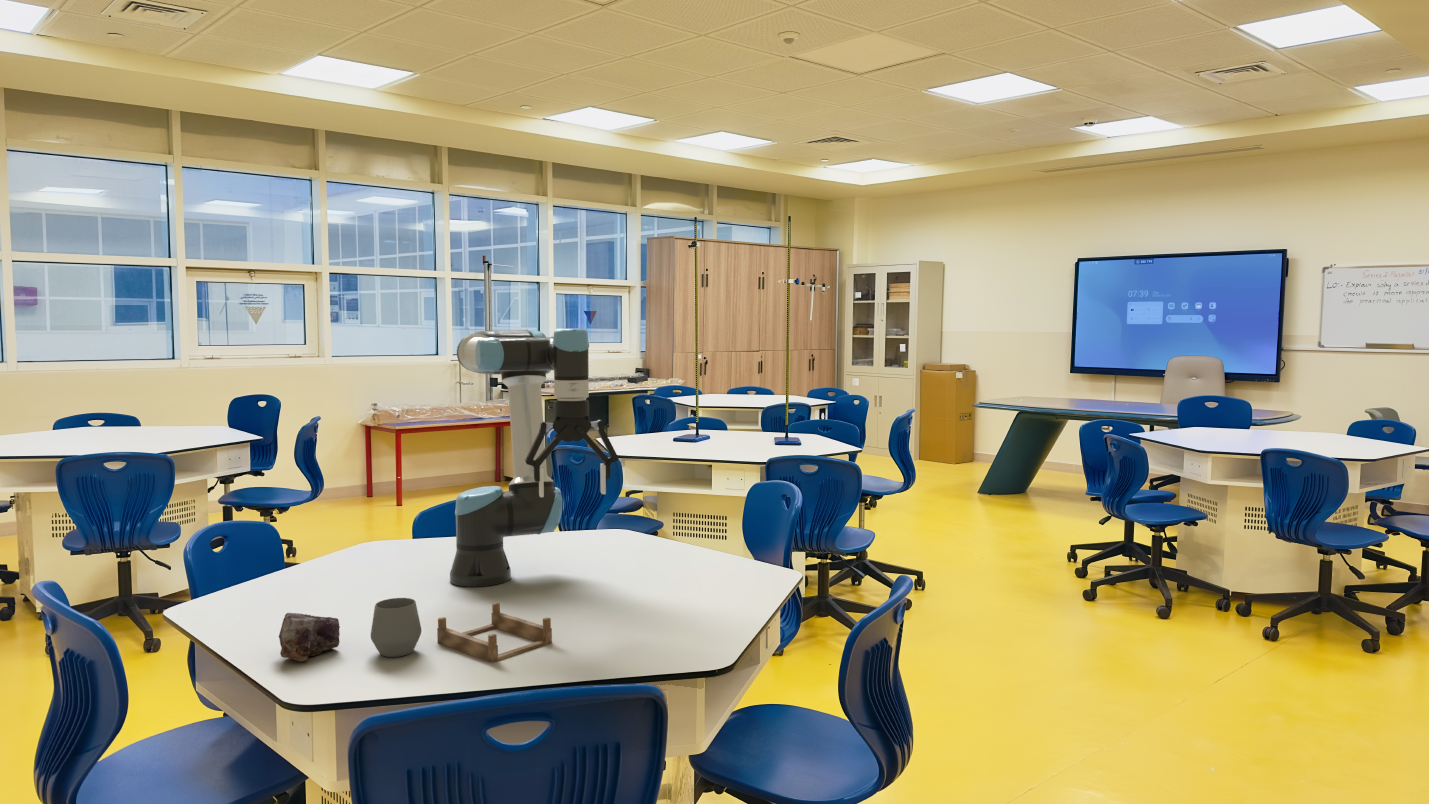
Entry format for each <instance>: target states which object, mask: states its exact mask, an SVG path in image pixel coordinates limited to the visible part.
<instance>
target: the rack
mask: <svg viewBox="0 0 1429 804" xmlns="http://www.w3.org/2000/svg"><path fill="white" fill-rule="evenodd" d="M491 605H492V606H491V607H492V609H491V610H492V611H491V623H490V624H486V625H483V626H480V627H477V628H472V629H470V630H466V631H463V632H460V631H457V630H454V629H451V628H449V627H447V617H446V616H444V617H438V618H437V628H436V629H437V632H436V634H437V638H436V639H437V643H438V644H440V645H442V646H445V647H448V648H452V649H454V650H457V651H460V652H463V653H465V654H467V655H471V656H474V657H476V658H478V659H480V660H481V659H482V660H483V661H486V662H489V663H495V662H498V661H501V660H504V659H507V658H509V657H514V656H516V655H518V654H521V653H526V652H528V651H531V650H533V649H537V648H540V647H543V646H546V645H549V644H552V643H553V632H552V631H553V630H552V622H551V621H552V619H551V617H542V624H538V623H535V622H532V621H530V620H527V619H523V618H519V617H516V616H512V615H509V614H507V613H504V612H503V613H502V612H501V603H500V602H493V603H492V604H491ZM494 629H498V630H500V631H502V632H503V631H504V632H507V633H510V634H512V635H516V636H519V637H523V638H526V639H529V640H532V641H534V642H532V643H528V644H525V645H522V646H519V647H516V648H514V649H510V650H507V651H504V652H500V653H498V652H499V648H498V646H499V645H498V635H497V634H496V633H490V634H488V635H487V640H484V639H480V638H477V637H475V636H473V635H477V634H480V633H485V632H487V631H491V630H494Z"/></svg>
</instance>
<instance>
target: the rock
mask: <svg viewBox="0 0 1429 804" xmlns="http://www.w3.org/2000/svg"><path fill="white" fill-rule="evenodd" d="M340 628H341V627H340V620H339V619H338V617H337V618H336V617H332V616H327V617H326V616H318V615H317V616H316V615H311V614H307V613H305V614H303V613H299V612H298V613H297V612H294V613H293V612H287V613H285V615H284V617H283V619H282V623H281V627H280V630H279V635H278V638H279V644H280V647H281V649H280V653H279V654H280V657H281V658H283V659H284V658H285V659H286V658H287V659H290V660H295V661H297V662H299V663H301V662H302V663H303V662H307V661H308V660H309V656H311V657H313V656H314V657H315V656H318V655H320V654H322V652H326V651H327V652H328V651H329V650H332V649H334V648H338V647H339V645H340V643H341V642H340Z"/></svg>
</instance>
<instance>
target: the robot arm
mask: <svg viewBox="0 0 1429 804" xmlns="http://www.w3.org/2000/svg"><path fill="white" fill-rule="evenodd" d="M589 347H590V343H589V335H588V331H587V330H586V329H585V328H556V329H555V330H554V332H553V336H550V337H547V336H546V335H545V334H544V333H543V332H542V331H540V330H530V329H517V330H515V329H513V330H512V329H511V330H509V329H507V330H505V329H504V330H503V329H502V330H498V329H497V330H490V329H489V330H480V331H477V332H476V331H475V332H473V333H472V332H471V333H469V334H468V335H466V336H464V337H463V338H462V339H461V340H460V342H458V345H457V347H456V348H457V349H456V357H457V360H458V362H459V364H460V365H461V366H462V367H463V368H464V369H465V370H467V371H470V372H473V373H477V374H483V375H500V376H501V383H503V384H504V385H505V386H506V387H507V389H508V406H509V408H508V409H509V422H510V423H509V424H510V433H511V434H510V435H511V436H510V437H511V450H512V451H511V452H512V467H513V470H512V471H513V478H512V480H511V481H510V482H509V483H508V490H507V491H504V490H503V488H502V486H500V485H499V486H498V485H490V486H481V487H476V488H471V489H467V490H465V491H463V492H461V493H459V494H458V495H457V496H456V499H455V511H454V516H455V530H456V531H455V532H456V533H455V537H456V544H455V545H456V549H455V550H456V551H455V554H454V559H453V562H452V565H451V569H450V571H449V582H450V583H451V584H452V585H455V586H460V587H470V588H472V587H473V588H474V587H476V588H477V587H487V586H488V587H489V586H493V585H499V584H503V583H505V582H508V581H510V579H511V578H512V574H511V573H512V569H511V567H510V563H509V561H508V557H507V555H506V552H505V549H504V538H507V537H517V536H518V537H519V536H520V537H521V536H529V535H541V534H546V533H552V532H554V531H555V530H556V529H557V528H558V526H559V525H560V522H561V517H562V512H563V497H562V491H561V489H560V487H556V486H555V485H554V480H553V479H552V478H551V477H549V476H548V471H547V470H548V469H547V458H548V457H549V456H550V455H551V453H553V451H554V450H555V448H556V447H557V446H558V445H559V444H560V443H561V442H562V441H563V442H564V443H565V442H566V443H570V442H572V441H573V442H582V440H584V442H585V443H586V444H588V446H589V447H590V448H591V449H592V450H593V452H595V454H596V455H597V456H598V457H599V458H600V459H601V461H602V462H603V463H600V464H599V465H600V466H599V468H600V469H599V471H600V473H599V474H600V477H599V478H600V493H601V495H606V494H607V485H606V484H607V481H606V479H607V480H608V479H610V478H611V465H612V464H613V463H616V462H618V461H619V456H618V454H617V452H616V449H615V448H614V446H613V445H612V442H611V440H610V439H609V437H608V435H607V432H606V431H605V425H604V421H603V420H601V419H597V420H595V421H594V420H593V421H591V420H590V401H589V400H588V399H587V398H589V397H590V395H589V392H590V391H589V387H590V386H589V385H590V383H589ZM552 371H553V376H554V377H553V385H554V386H553V389H554V390H553V393H554V394H553V396H554V398H556V400H554V402H553V404H554V405H553V406H554V407H553V408H554V417H553V418H554V420H553V422H545V420H544V411H543V400H542V399H543V398H542V397H543V395H542V384H544V383H545V382H546V381H547V375H548V374H550V373H551V372H552ZM591 428H593V429H594V430H595V431H597V432H598V433H597V434H598V436H600V439H601V441H602V443H603V444H604V446H605V448H606V450H607V453H608V454H609V456H607V455H606V454H605V453H604V452H603V450H602V449H600V447H599V446H598V445H597V444H596V442H595V441H594V440H593V439H592V438H591V437H590V436H589V435H588V433H589V432H590V430H591ZM551 429H553V431H554V432H555V433H556V434H555V435H554V436H553V438H552V439H551V440H550V442H549V443H548V444H547V445H546V442H545V436H546V433H549V432H550V430H551ZM554 486H555V487H554Z"/></svg>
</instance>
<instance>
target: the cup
mask: <svg viewBox="0 0 1429 804" xmlns="http://www.w3.org/2000/svg"><path fill="white" fill-rule="evenodd" d="M421 635H422V625H421V620H420V616H419V610H418V607H417V602H416V600H415V599H414V598H411V597H410V598H409V597H408V598H407V597H395V598H394V597H393V598H387V599H383V600H380V601H378V602H376V603H375V605H374V609H373V617H372V623H371V630H370V639H371V641H372V643H373V645H374V647H375V648H376V650H377V651H378V653H379V654H380V655H381V656H383V657H386V658H399V657H405V656H406V655H410V654H411V653H412V652H413V651H414V650H415V648H416V647H417V645H418V642H419V639H420V637H421Z"/></svg>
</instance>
